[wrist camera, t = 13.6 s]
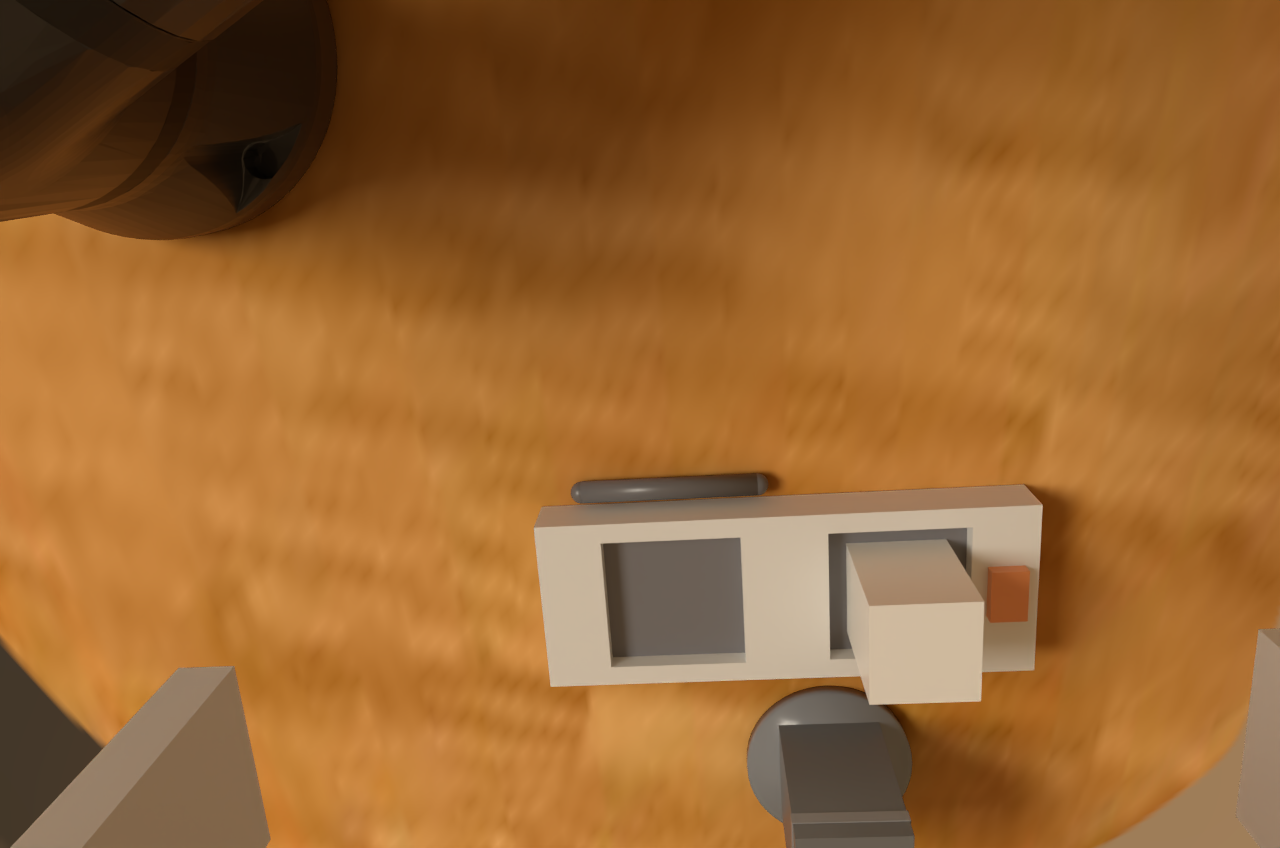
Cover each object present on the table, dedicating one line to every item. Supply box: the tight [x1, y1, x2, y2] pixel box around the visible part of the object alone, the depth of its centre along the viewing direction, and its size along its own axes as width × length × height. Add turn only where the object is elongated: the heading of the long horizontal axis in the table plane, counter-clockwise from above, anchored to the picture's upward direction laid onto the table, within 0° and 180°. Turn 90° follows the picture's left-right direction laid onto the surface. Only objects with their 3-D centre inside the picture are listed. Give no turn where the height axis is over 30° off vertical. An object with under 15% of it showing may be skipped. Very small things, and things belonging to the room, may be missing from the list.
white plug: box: [846, 539, 984, 705], centre depth 42 cm, size 4×4×6 cm
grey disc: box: [747, 686, 912, 823], centre depth 49 cm, size 8×8×1 cm
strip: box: [534, 473, 1043, 687], centre depth 45 cm, size 22×9×3 cm, turn 94°
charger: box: [779, 722, 914, 848], centre depth 45 cm, size 5×5×8 cm
